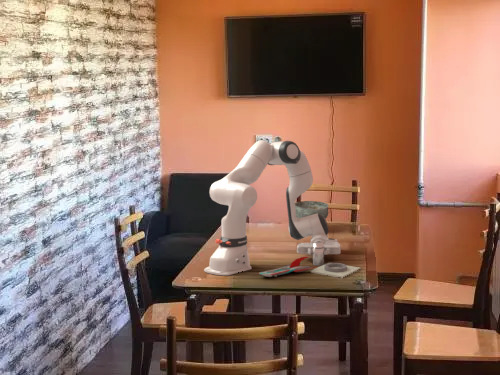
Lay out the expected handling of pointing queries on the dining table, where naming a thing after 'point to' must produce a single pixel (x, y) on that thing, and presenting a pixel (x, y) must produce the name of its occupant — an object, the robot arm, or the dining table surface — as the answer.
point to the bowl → (311, 208)
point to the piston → (318, 253)
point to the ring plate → (335, 274)
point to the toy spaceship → (287, 268)
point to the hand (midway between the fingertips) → (318, 253)
